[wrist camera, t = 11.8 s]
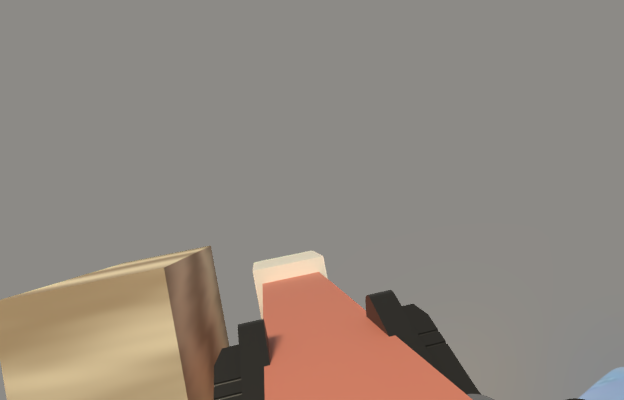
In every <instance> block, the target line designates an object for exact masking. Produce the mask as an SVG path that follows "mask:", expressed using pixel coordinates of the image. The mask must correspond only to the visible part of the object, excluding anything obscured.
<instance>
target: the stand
mask: <svg viewBox="0 0 624 400" xmlns="http://www.w3.org/2000/svg"><path fill="white" fill-rule="evenodd" d="M226 347H229V342H228V337H227V331H226V326H225V321H224V315H223V310H222V304H221V299H220V294H219V288H218V283H217V277H216V272H215V267H214V261H213V256H212V250H211V246H207V247H202V248H197V249H192V250H187V251H182V252H177V253H171V254H166V255H162V256H157V257H152V258H146V259H141V260H136V261H131V262H127V263H122V264H119V265H116V266H112V267H109V268H106V269H102V270H99V271H96V272H92V273H89V274H85V275H82V276H79V277H75V278H72V279H69V280H65V281H62V282H59V283H55V284H52V285H49V286H45V287H42V288H39V289H35V290H32V291H29V292H25V293H22V294H19V295H15V296H12V297H8V298H5V299H2V300H0V361H1V367H2V372H3V379H4V385H5V391H6V397H7V400H214V365H215V362H216V360H217V358H218V356H219V354H220V351H221V349H222V348H226Z"/></svg>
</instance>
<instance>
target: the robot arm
mask: <svg viewBox="0 0 624 400" xmlns="http://www.w3.org/2000/svg"><path fill="white" fill-rule="evenodd" d="M366 317H368V318H369V319H370V320H371V321H372V322H373V323H374V324H375V325H377V326H378V327H379V328H380V329H381V330H382V331H383V332H384V333H386V334H387V335H388V336H389V337H390V336H394V335H396V336H397V337H398V338H399V339H400V340H402V341H403V342H404V343H405V344H406V345H408V346H409V347H410V348H411V349H412V350H414V351H415V352H416V353H417V354H418V355H420V356H421V357H422V358H423V359H424V360H426V361H427V362H428V363H429V364H430V365H432V366H433V367H434V368H435V369H436V370H438V371H439V372H440V373H441V374H442V375H444V376H445V377H446V378H447V379H448V380H450V381H451V382H452V383H453V384H454V385H456V386H457V387H458V388H459V389H460V390H462V391H463V392H464V393H465V394H466V395H468V396H469V397H470V398H471V399H473V400H494V399H492V398H490V397H487V396H484V395H481V394H480V392H479V391H478V390H477V388H476V387H475V385H474V384H473V382H472V381H471V379H470V378H469V376H468V375H467V373H466V372H465V370H464V369H463V367H462V366H461V364H460V363H459V361H458V359H457V358H456V357H455V355H454V353H453V352H452V350H451V349H450V347H449V346H448V344H446V342H445V340H444V338H443V337H442V335H441V334H440V332H438V329H437V328H436V326H435V325H434V323H433V321H432V320H431V318H430V317H429V315H428V314H427V313H425V312H424V311H422V310H421V309H419V308H418V307H417V306H415V305H414V304H410V305H406V306H401V304H400V303H399V301H398V299H397V298H396V296H395V294H394V293H393V292H392V291H391V290H388V291H384V292H379V293H375V294H371V295H367V296H366ZM238 335H239V336H238V337H239V345H235V346H230V347H226V348H222V349H221V351H220V354H219V356H218V358H217V360H216V362H215V365H214V400H265V389H264V366H269V365H270V358H269V343H268V336H267V331H266V326H265V322H264V319H261V320H256V321H252V322H248V323H243V324H239V325H238ZM568 400H583V399H568Z"/></svg>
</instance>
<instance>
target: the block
mask: <svg viewBox="0 0 624 400" xmlns="http://www.w3.org/2000/svg"><path fill="white" fill-rule="evenodd" d="M253 276H254V281H255V287H256V292H257V297H258V303H259V308H260V314H261V319H264V322H265V326H266V331H267V336H268V343H269V358H270V365H269V366H264V389H265V400H473V399H471V398H470V397H469V396H468V395H466V394H465V393H464V392H463V391H462V390H460V389H459V388H458V387H457V386H456V385H454V384H453V383H452V382H451V381H450V380H448V379H447V378H446V377H445V376H444V375H442V374H441V373H440V372H439V371H438V370H436V369H435V368H434V367H433V366H432V365H430V364H429V363H428V362H427V361H426V360H424V359H423V358H422V357H421V356H420V355H418V354H417V353H416V352H415V351H414V350H412V349H411V348H410V347H409V346H408V345H406V344H405V343H404V342H403V341H402V340H400V339H399V338H398V337H397V336H396V335H394V336H390V337H389V336H388V335H387V334H386V333H384V332H383V331H382V330H381V329H380V328H379V327H378V326H377V325H375V324H374V323H373V322H372V321H371V320H370V319H369V318H368V317H366V310H364V309H363V308H362V307H361V306H359V305H358V304H357V303H356V302H355V301H354V300H352V299H351V298H350V297H349V296H348V295H346V294H345V293H344V292H342V291H341V290H340V289H339V288H338V287H337V286H335V285H334V284H333V283H332V282H331V281H329V280H328V279H327V273H326V268H325V263H324V258H323V256H322V255H320V254H318V253H316V252H314V251H307V252H302V253H297V254H293V255H288V256H283V257H278V258H273V259H268V260H263V261H258V262H254V266H253Z"/></svg>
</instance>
